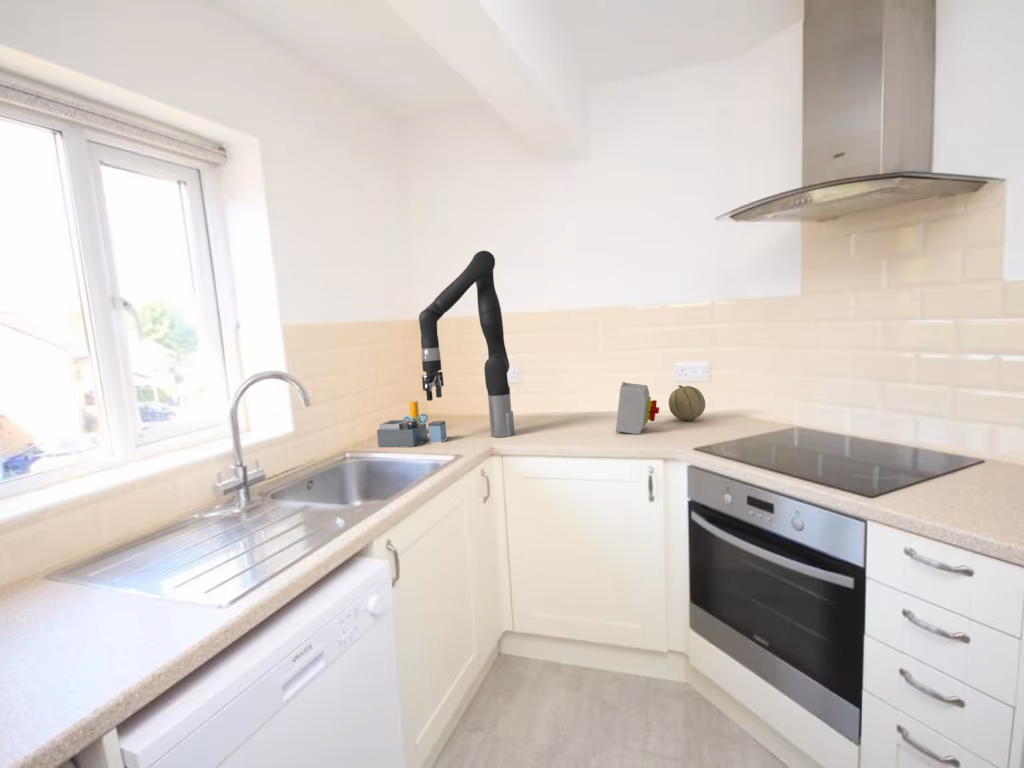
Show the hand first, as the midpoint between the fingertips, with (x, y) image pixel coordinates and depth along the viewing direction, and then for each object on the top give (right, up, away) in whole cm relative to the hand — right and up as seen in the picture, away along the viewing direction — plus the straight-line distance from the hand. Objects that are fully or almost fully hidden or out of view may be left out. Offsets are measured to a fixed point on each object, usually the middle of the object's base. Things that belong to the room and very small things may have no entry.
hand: (434, 398), depth 209 cm
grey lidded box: (+1, -18, +2) cm, 18 cm away
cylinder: (-11, -17, +19) cm, 28 cm away
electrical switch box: (+82, -13, -5) cm, 83 cm away
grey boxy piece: (-13, -18, +2) cm, 23 cm away
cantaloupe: (+106, -9, +8) cm, 107 cm away
